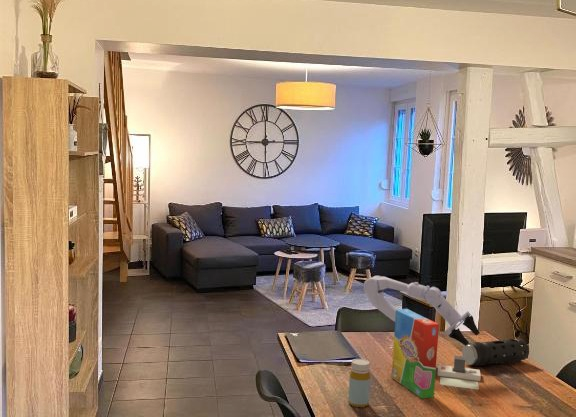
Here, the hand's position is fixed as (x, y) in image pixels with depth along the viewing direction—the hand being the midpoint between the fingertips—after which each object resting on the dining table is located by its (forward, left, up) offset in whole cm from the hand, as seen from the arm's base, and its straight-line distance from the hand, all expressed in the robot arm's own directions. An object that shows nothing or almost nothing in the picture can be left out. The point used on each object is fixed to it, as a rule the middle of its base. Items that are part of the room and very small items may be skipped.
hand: (472, 339), depth 240 cm
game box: (-22, -21, -15) cm, 34 cm away
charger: (-5, -3, -14) cm, 15 cm away
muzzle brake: (+10, +17, -15) cm, 25 cm away
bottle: (-39, -43, -15) cm, 60 cm away
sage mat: (-5, -12, -15) cm, 20 cm away
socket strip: (-5, -3, -15) cm, 16 cm away
